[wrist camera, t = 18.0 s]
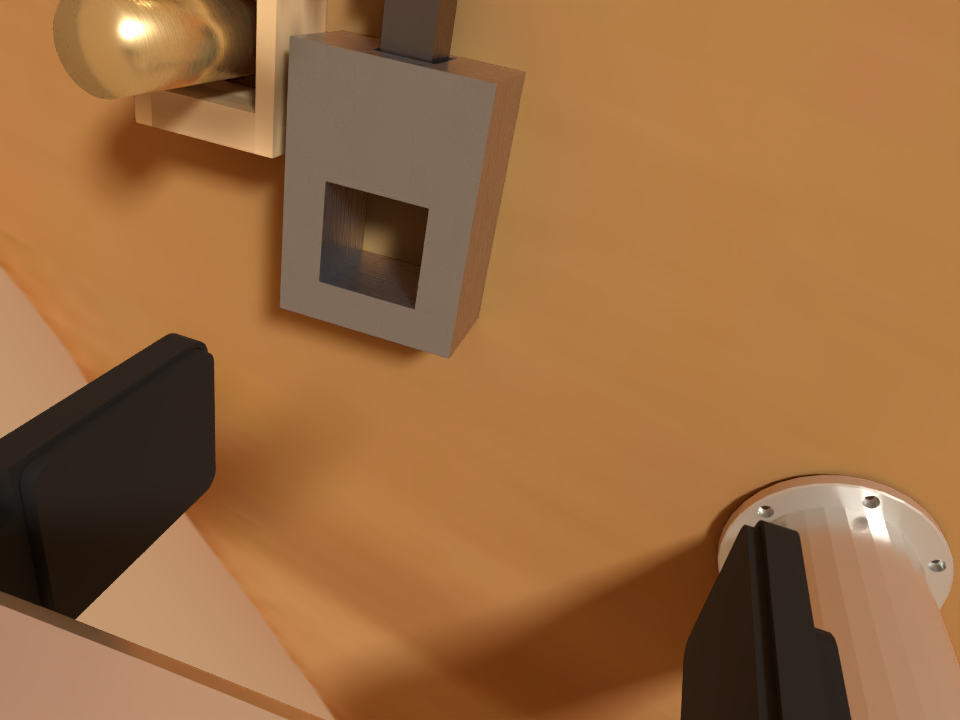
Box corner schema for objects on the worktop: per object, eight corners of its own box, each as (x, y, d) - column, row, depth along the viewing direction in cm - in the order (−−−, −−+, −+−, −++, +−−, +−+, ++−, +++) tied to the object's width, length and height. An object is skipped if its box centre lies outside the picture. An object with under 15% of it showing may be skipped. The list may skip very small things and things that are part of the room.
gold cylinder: (291, 79, 39) (142, 109, 29) (227, 63, 40) (59, 87, 30) (294, -1, 37) (136, 1, 27) (226, -16, 38) (47, -20, 28)
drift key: (446, 162, 38) (423, 176, 35) (384, 146, 39) (356, 159, 36) (477, -50, 33) (454, -54, 30) (406, -64, 34) (376, -70, 31)
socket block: (477, 318, 43) (448, 358, 38) (325, 274, 44) (279, 307, 40) (525, 72, 36) (496, 83, 31) (342, 30, 37) (289, 35, 33)
